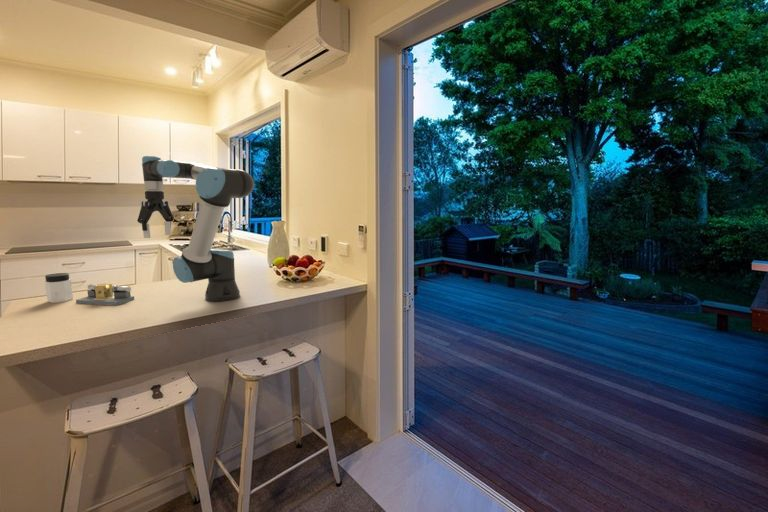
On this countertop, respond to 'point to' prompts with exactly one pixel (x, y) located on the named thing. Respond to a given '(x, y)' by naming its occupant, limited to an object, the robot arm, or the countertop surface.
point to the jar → (58, 287)
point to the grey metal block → (121, 292)
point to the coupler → (103, 291)
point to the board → (103, 300)
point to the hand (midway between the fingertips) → (158, 236)
